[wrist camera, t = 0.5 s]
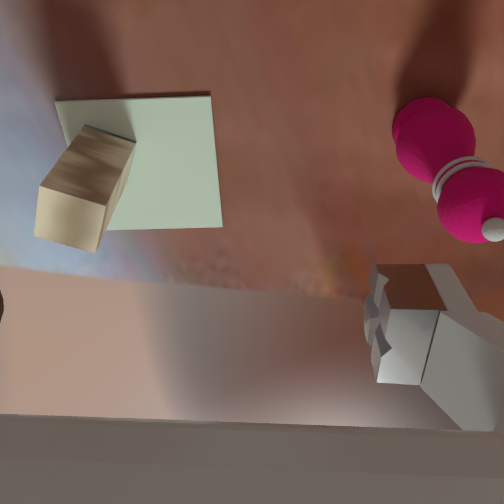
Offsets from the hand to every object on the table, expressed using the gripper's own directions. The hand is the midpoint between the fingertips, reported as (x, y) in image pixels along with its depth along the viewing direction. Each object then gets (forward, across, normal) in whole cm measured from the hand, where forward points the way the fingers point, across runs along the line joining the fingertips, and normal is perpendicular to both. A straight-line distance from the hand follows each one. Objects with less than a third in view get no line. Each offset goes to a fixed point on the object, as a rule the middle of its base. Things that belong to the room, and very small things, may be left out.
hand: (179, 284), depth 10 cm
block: (+40, +16, +12) cm, 45 cm away
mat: (+41, +12, +13) cm, 45 cm away
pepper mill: (+42, -18, +8) cm, 46 cm away
